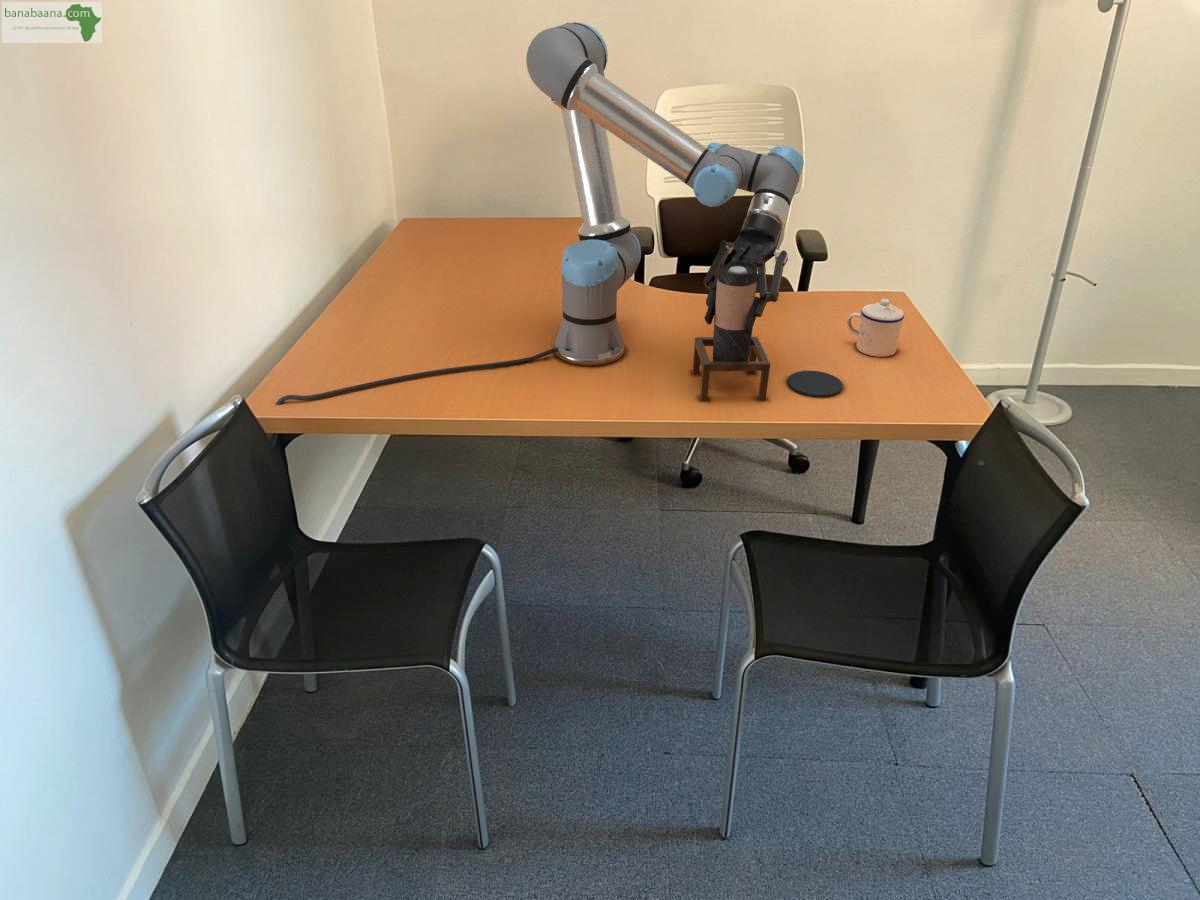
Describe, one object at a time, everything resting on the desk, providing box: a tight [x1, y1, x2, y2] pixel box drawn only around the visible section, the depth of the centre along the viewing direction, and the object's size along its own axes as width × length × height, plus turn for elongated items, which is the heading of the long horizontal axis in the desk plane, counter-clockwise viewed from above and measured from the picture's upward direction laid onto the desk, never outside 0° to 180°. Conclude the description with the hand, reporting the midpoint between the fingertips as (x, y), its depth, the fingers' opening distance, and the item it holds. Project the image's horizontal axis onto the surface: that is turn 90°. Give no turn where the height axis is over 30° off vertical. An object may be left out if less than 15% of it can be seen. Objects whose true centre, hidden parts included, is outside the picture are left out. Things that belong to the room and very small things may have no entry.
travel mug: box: [712, 260, 758, 362], centre depth 170 cm, size 8×8×20 cm
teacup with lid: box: [846, 298, 905, 358], centre depth 192 cm, size 12×9×12 cm
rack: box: [692, 336, 771, 402], centre depth 176 cm, size 13×13×8 cm
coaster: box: [787, 370, 843, 398], centre depth 178 cm, size 11×11×1 cm
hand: (727, 325), depth 168 cm, fingers closed on travel mug, 7 cm apart
